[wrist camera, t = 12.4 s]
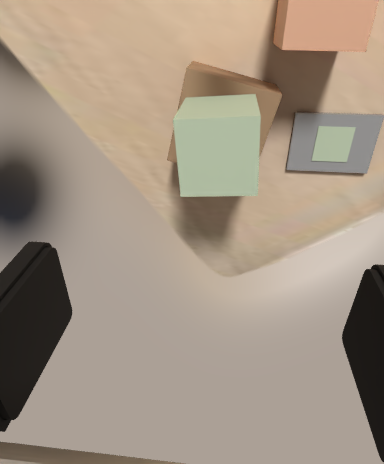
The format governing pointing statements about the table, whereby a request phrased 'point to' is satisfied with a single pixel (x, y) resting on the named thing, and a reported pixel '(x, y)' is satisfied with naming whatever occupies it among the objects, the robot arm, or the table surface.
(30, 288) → the robot arm
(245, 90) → the walnut base
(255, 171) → the sage block
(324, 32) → the terracotta block
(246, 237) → the table surface
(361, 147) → the card
